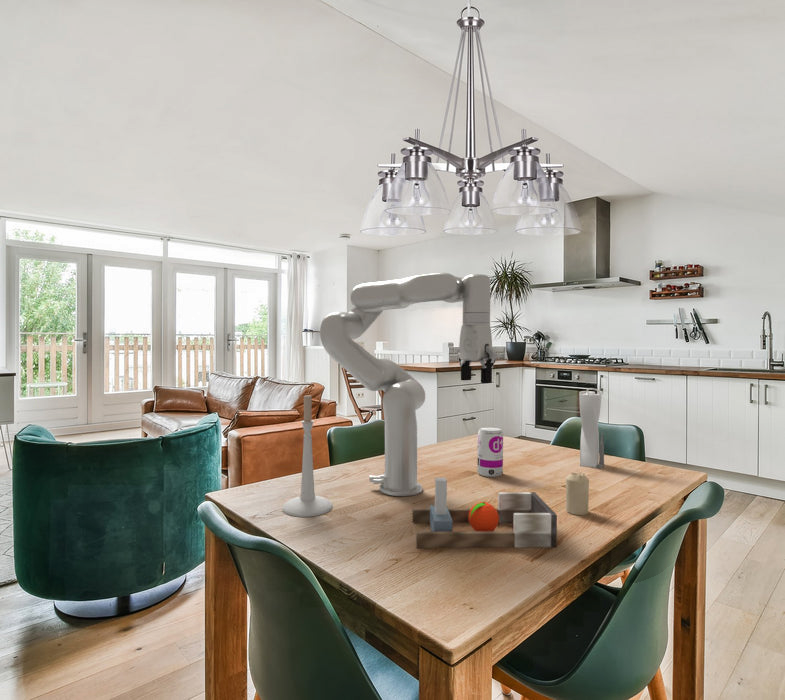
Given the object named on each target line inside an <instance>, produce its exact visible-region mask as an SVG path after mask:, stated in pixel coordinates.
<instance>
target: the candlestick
mask: <svg viewBox="0 0 785 700" xmlns="http://www.w3.org/2000/svg"><path fill="white" fill-rule="evenodd" d="M312 409H313V408H312V395H309V394H307V395H304V396H303V420H301V421H300V422H301V424H302V429H303V431H304V433H303V447H302V449H303V450H302V462H301V463H302V467H301V483H300V484H301V485H300V496H296V497H293V498H290V499H289V500H287V501H286V502H285V503H284V504H283V506H282V512H283V513H285V514H286V515H289V516H292V517H297V518H298V517H299V518H300V517H301V518H304V517H305V518H309V517H315V516H316V517H317V516H321V515H323V514H324V515H325V514H327V513H329V512H330V511H331V510H332V509H333V503H332V502H331V500H329V499H328V498H326V497H324V496H320V495H316V493H315V483H314V481H315V479H314V477H315V476H314V463H313V462H314V458H313V439H312V435H313V434H312V433H311V432H312V429H313V427H314V425H313V423H315V420H313V419H312Z"/></svg>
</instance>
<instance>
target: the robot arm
mask: <svg viewBox="0 0 785 700" xmlns="http://www.w3.org/2000/svg"><path fill="white" fill-rule="evenodd" d="M351 290H352V291H351V292H350V303H351V304H352V306H353V307H352V308H351V309H350V311H348V312H346V311H333V312H331V313H328V314H327V315H326V316H324V318H323V319H322V321H321V323H320V328H319V336H320V342H321V344H322V346H323V348H324V350H325V352H326V354H328V355H329V356H330V357H331V358H332V359H333V360H334V361H335V362H336V363H337V364H339V366H341V367H342V368H343V369H344V370H345V371H347V373H349V374H350V376H352V377H353V378H354V379H355V380H357V381H358V382H359V384H361V385H362V386H363V387H364V388H365V389H367V390H369V391H370V392H371V391H372V392H377V391H383V392H384V394H383V397H382V411H383V417H384V418H383V419H384V472H383V474H380V475H369V483H372V484H374V485H377V484H378V485H379V486H378V487H379V488H378V489H379V491H380V492H381V493H382V494H385V495H388V496H394V497H408V496H409V497H410V496H411V497H412V496H414V495H418V494H420V493H421V492H422V491H423V485H422V484H421V483H420V482H418V422H417V414H416V410H418V409H420V408H421V407H422V406H423V405H424V403H425V401H426V391H425V389H424V387H423V385H422V384H421V383H420V382H419V381H417V379H415V378H414V377H413V376H412V375H411V374H409V373H408V372H407V371H406V370H404V369H403V368H402V367H401V366H400V365H398V364H397V363H396V362H394V361H392V359H391V360H390V359H389V358H377V357H376V356H374V355H373V354H371V353H370V352H369V351H367V350H366V349H365V347H363V346H362V345H361V344H359V343H357V342H355V341H354V340H356V339H358V338H360V337H361V336H362V335H363V334H365V333H366V332H367V330H368V329H369V328H370V327H371V326H372V324H373V323H374V322H375V321H376V320H377V318H379V316H380V315H381V314H382V313H383V311H387V310H400V309H406V308H407V307H409V306H411V305H414V304H419V303H428V302H439V301H441V302H442V301H443V302H446V303H449V304H450V303H451V304H455V303H461V302H462V324H461V327H460V332H459V333H460V335H459V343H458V345H459V346H458V350H457V351H456V352H457V356H458V361H459V366H460V381H471V380H472V365H471V363H472V362H477V361H479V362H480V365H481V368H480V383H481V384H492V382H493V381H492V380H493V368H494V365H495V363H496V357H497V355H498V352H497V351H496V350H495V349H493V336H492V335H493V334H492V328H491V278H490V276H488V275H487V274H468V275H465V276H464V277H458V276H455V275H454V274H452V273H448V272H436V273H435V272H434V273H428V274H421V275H420V274H419V275H413V276H408V277H403V278H399V279H391V280H382V281H374V282H366V283H360V284H358V285H355V286H354V287H353V288H352V289H351Z"/></svg>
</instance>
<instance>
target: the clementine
mask: <svg viewBox="0 0 785 700" xmlns="http://www.w3.org/2000/svg"><path fill="white" fill-rule="evenodd" d="M469 509H470V511H469V516H468V519H469V526H471V528H472V529H473V531H496V529H497V527H498V525H499V523H500V522H499V515H498V512H497V510H496V509H497V508H495V506H494V505H492V504H491V503H489V502H487V501H486V502H485V501H480V502H477V503H475V504H473V505H472V507H471V508H469Z"/></svg>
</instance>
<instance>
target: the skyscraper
mask: <svg viewBox="0 0 785 700" xmlns="http://www.w3.org/2000/svg"><path fill="white" fill-rule="evenodd" d="M590 390H593V391H590ZM596 391H597V392H598V393H596ZM578 394H579V397H578V398H579V401H578V402H579V414H580V415H579V416H580V422H581V423H580V424H581V429H580V443H579V444H580V445H579V466H580V467H584V468H592V469H600V470H602V469H603V468H604V466H605V442H604V432H603V429H601V434H600V433H599V425H598V424H599V419H600V416H601V415H600V414H601V407H602V405H601V404H602V393H601V391H600V390H599V389H597V388H594V387H589V388H587V389H586V390H583V391H579V393H578Z"/></svg>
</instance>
